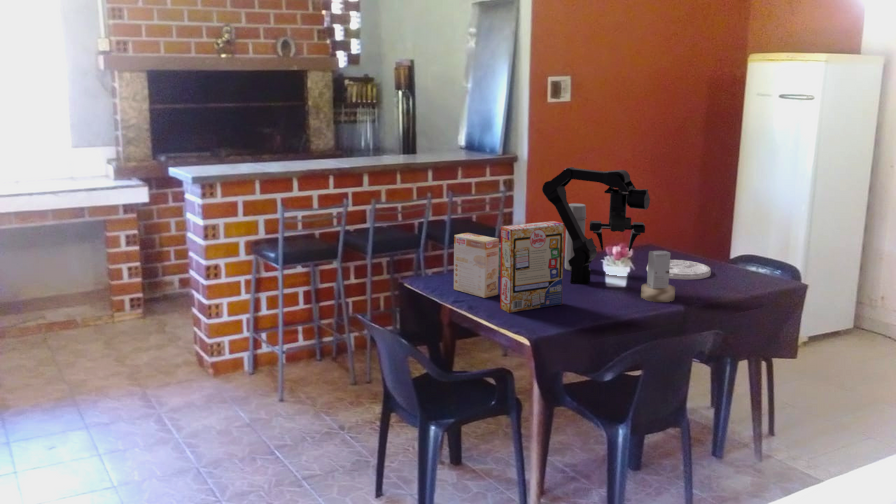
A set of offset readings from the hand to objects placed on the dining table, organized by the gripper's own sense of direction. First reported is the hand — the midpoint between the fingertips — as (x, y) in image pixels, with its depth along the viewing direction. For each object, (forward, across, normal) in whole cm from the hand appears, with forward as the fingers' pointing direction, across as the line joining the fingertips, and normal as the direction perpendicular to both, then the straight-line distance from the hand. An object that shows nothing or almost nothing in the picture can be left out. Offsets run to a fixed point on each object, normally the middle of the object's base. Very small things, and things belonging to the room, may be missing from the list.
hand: (615, 251), depth 282 cm
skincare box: (+10, +14, -11) cm, 20 cm away
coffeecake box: (+13, -47, -16) cm, 51 cm away
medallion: (+14, +24, +29) cm, 40 cm away
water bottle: (+13, -14, +24) cm, 31 cm away
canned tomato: (+13, -39, +11) cm, 43 cm away
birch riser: (+13, +14, -11) cm, 22 cm away
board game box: (+13, -27, -30) cm, 42 cm away
